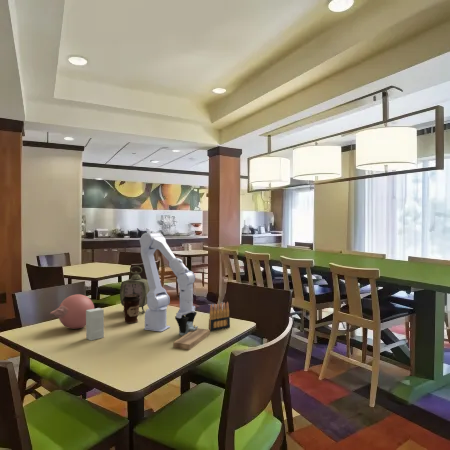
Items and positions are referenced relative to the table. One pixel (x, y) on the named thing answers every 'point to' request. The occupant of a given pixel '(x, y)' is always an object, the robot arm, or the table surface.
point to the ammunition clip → (219, 317)
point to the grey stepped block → (189, 328)
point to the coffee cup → (131, 308)
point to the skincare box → (94, 324)
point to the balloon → (73, 311)
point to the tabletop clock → (135, 288)
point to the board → (191, 339)
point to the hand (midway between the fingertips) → (186, 330)
